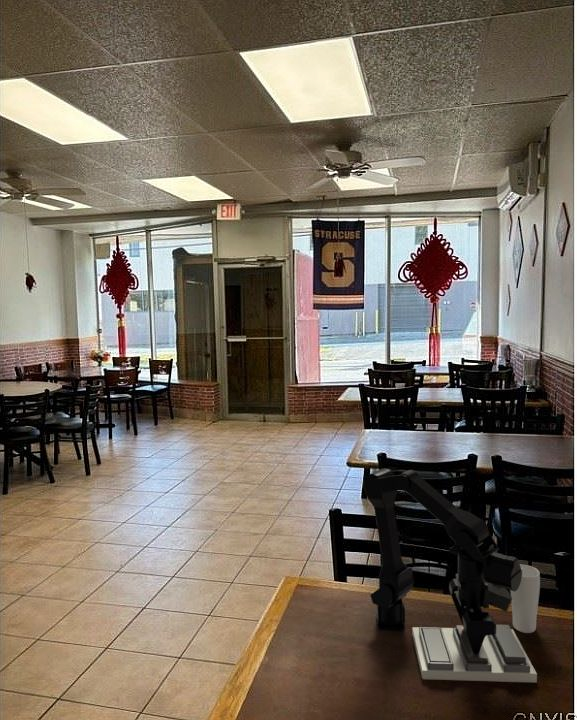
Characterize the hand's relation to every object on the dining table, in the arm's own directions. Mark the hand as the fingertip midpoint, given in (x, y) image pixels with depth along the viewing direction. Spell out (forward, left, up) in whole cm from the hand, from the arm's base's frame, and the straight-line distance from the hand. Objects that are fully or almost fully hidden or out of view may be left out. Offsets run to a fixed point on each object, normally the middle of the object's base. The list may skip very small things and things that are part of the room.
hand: (471, 640), depth 124 cm
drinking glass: (+16, +13, -5) cm, 21 cm away
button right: (+8, 0, -1) cm, 8 cm away
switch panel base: (0, +1, -5) cm, 5 cm away
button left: (-8, 0, -2) cm, 8 cm away
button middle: (0, 0, -2) cm, 2 cm away
